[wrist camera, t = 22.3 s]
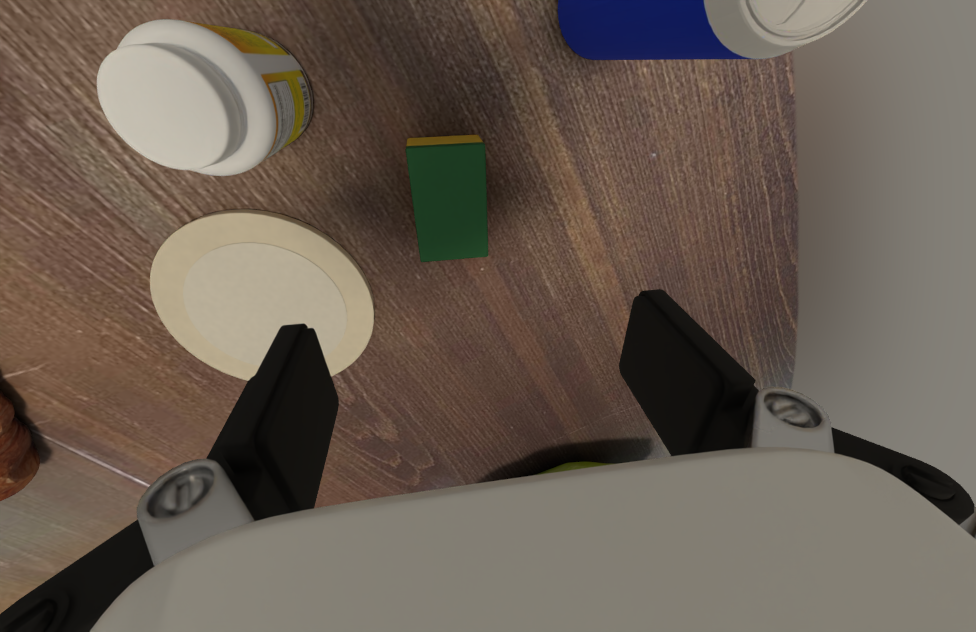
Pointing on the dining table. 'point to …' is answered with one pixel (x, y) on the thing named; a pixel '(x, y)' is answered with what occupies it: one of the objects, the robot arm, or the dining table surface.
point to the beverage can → (697, 27)
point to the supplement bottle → (204, 96)
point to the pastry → (15, 452)
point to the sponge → (449, 196)
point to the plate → (259, 289)
